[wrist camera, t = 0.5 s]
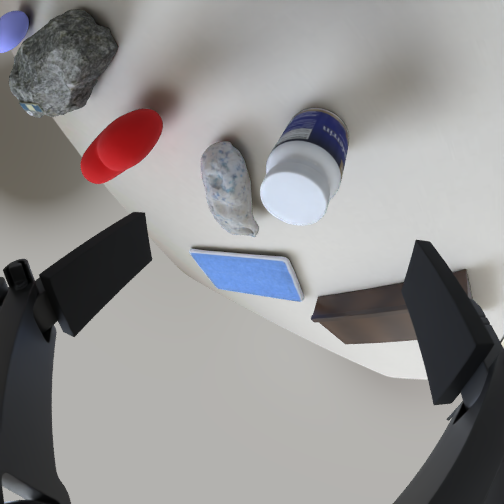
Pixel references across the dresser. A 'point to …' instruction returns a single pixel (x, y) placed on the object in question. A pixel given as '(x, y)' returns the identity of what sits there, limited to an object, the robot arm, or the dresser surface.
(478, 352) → the robot arm
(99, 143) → the heart
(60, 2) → the dresser surface
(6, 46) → the sphere
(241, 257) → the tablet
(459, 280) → the ledge
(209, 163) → the decorative stone
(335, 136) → the pill bottle
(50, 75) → the rock
